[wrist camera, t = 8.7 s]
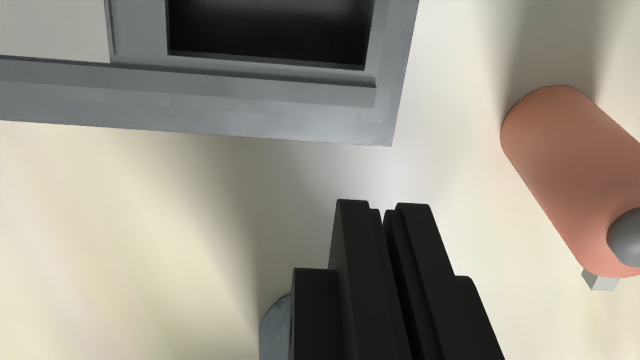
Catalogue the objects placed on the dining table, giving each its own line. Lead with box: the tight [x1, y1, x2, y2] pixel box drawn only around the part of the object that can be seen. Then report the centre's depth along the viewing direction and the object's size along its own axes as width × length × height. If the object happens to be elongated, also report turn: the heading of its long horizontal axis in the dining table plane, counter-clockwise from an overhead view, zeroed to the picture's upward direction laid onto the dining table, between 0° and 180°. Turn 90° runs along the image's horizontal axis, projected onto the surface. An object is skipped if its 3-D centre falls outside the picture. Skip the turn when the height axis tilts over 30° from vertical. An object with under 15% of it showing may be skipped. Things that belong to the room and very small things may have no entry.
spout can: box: [500, 86, 640, 291], centre depth 25 cm, size 5×6×10 cm
